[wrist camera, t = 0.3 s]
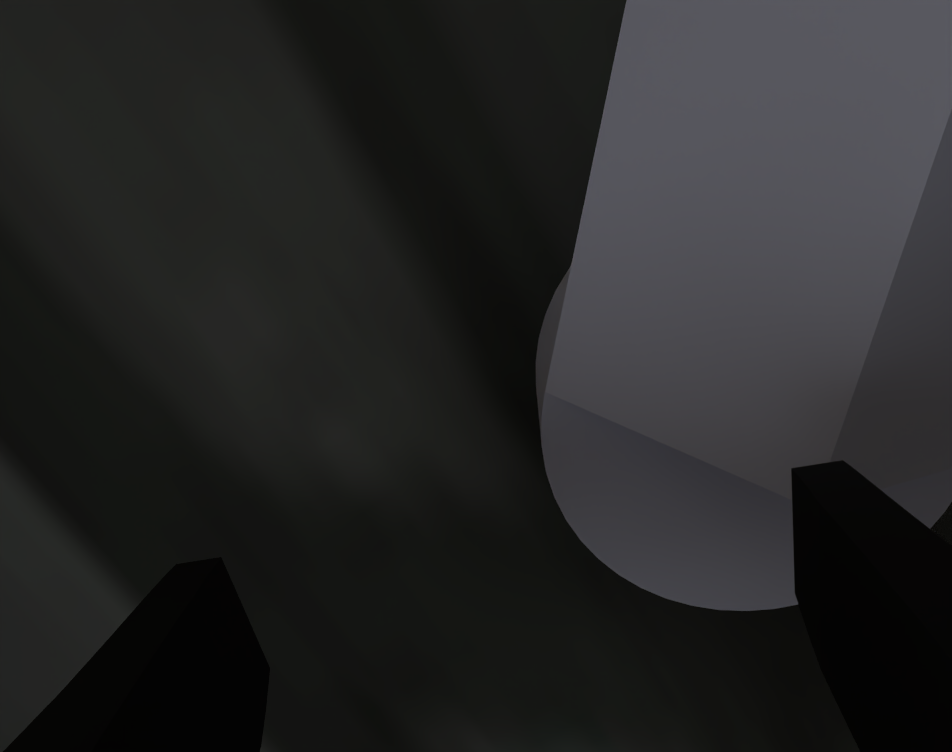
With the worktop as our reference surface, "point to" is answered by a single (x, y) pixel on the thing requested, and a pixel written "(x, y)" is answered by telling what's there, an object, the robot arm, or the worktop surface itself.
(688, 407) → the wedge on round base
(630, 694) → the worktop surface
